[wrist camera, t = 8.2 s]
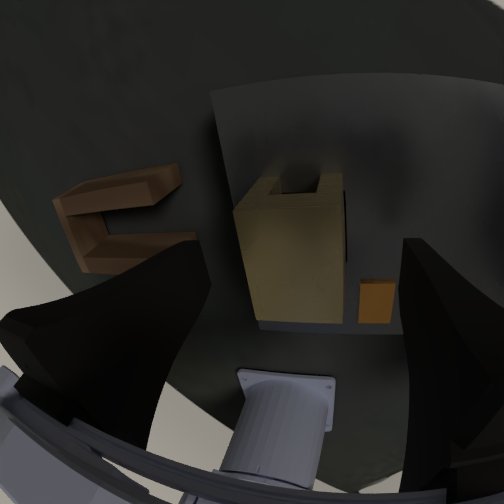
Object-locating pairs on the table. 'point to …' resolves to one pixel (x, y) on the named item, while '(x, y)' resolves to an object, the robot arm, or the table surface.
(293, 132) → the dark grey l-shaped block
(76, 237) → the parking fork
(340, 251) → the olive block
